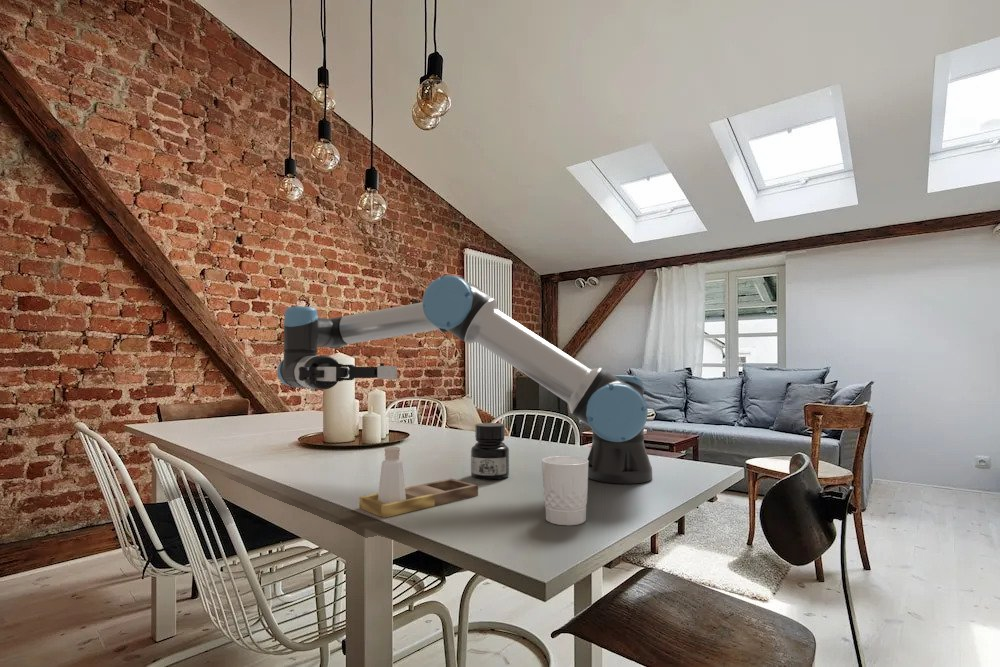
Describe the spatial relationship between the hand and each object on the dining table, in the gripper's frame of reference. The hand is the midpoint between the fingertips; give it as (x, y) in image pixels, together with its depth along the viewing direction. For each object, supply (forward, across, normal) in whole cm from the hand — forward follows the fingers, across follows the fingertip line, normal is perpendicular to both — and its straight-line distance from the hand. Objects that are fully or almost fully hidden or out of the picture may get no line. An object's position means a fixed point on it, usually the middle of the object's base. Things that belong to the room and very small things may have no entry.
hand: (366, 373), depth 105 cm
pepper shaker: (+10, 0, -25) cm, 27 cm away
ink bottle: (+3, -30, -25) cm, 39 cm away
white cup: (+36, -17, -25) cm, 47 cm away
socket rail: (+10, -6, -24) cm, 27 cm away
